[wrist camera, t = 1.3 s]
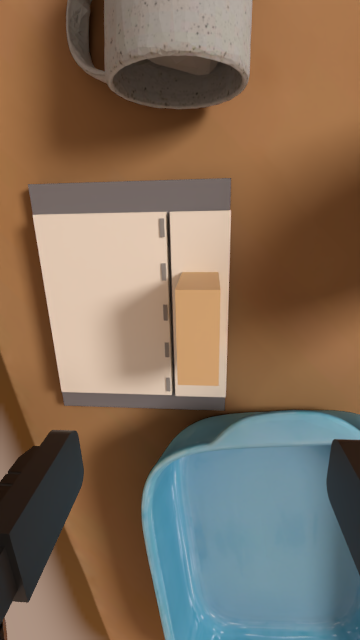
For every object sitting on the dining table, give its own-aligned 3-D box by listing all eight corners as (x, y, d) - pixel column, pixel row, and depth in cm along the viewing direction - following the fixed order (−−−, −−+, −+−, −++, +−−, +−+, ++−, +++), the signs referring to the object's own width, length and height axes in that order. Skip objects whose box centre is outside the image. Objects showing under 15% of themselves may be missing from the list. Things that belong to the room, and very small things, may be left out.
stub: (171, 211, 22) (158, 214, 17) (230, 210, 22) (237, 212, 16) (176, 389, 27) (167, 437, 21) (225, 390, 27) (229, 440, 21)
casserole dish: (378, 642, 38) (414, 737, 31) (186, 636, 40) (181, 722, 34) (412, 352, 26) (483, 405, 19) (136, 372, 28) (114, 424, 22)
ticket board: (35, 185, 24) (19, 183, 22) (230, 179, 22) (232, 176, 20) (68, 399, 30) (58, 412, 28) (224, 403, 28) (225, 418, 26)
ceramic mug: (249, -62, 18) (271, -235, 11) (242, 107, 21) (256, 57, 14) (67, -43, 19) (-20, -190, 12) (84, 115, 22) (20, 73, 15)
